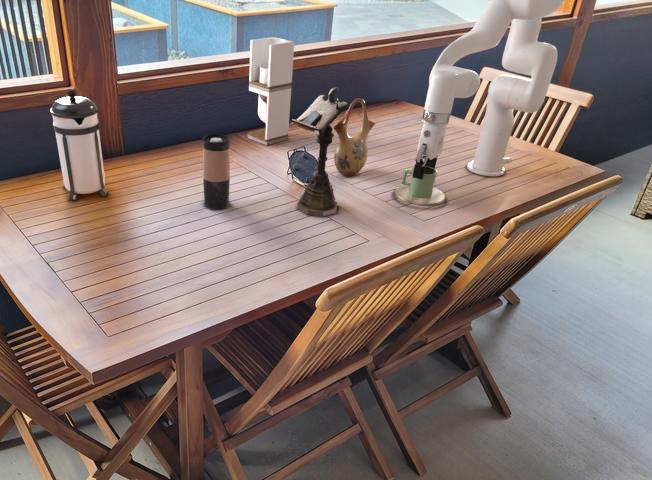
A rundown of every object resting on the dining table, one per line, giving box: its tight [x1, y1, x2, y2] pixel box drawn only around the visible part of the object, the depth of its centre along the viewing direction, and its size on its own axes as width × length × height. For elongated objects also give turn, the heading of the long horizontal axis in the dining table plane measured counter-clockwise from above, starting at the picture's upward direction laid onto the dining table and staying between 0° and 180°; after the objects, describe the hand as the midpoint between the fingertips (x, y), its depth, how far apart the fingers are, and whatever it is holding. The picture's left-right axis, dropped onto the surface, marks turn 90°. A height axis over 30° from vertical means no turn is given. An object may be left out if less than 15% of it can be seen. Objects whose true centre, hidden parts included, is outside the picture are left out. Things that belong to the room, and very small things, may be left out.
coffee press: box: [49, 89, 109, 201], centre depth 165 cm, size 17×16×30 cm
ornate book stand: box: [290, 86, 349, 217], centre depth 157 cm, size 17×13×35 cm
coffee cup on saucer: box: [394, 166, 446, 207], centre depth 175 cm, size 15×15×8 cm
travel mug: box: [202, 133, 231, 211], centre depth 163 cm, size 8×8×20 cm
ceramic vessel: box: [333, 97, 376, 177], centre depth 185 cm, size 16×9×25 cm, turn 121°
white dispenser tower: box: [247, 36, 296, 146], centre depth 210 cm, size 11×11×35 cm
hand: (423, 173), depth 173 cm, fingers open, 9 cm apart
